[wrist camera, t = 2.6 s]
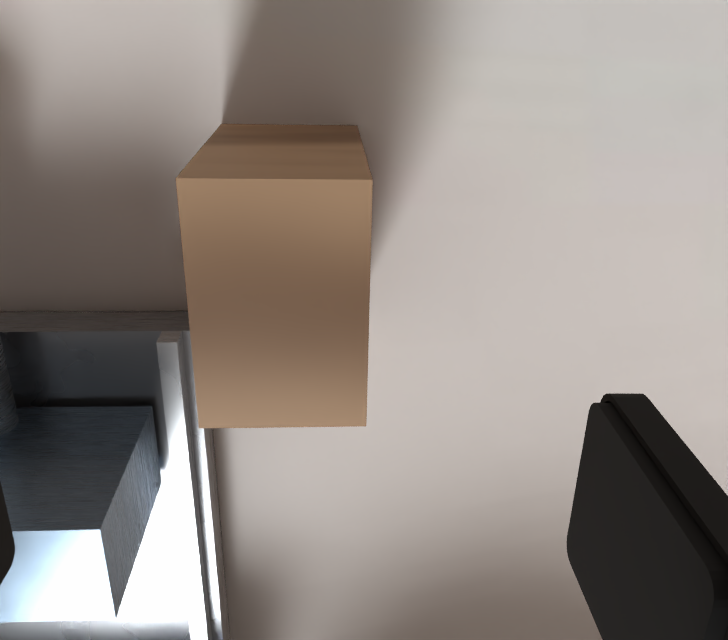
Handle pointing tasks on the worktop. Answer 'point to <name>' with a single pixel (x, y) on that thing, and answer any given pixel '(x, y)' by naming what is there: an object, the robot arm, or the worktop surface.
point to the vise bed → (175, 451)
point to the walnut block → (278, 275)
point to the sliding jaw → (73, 505)
